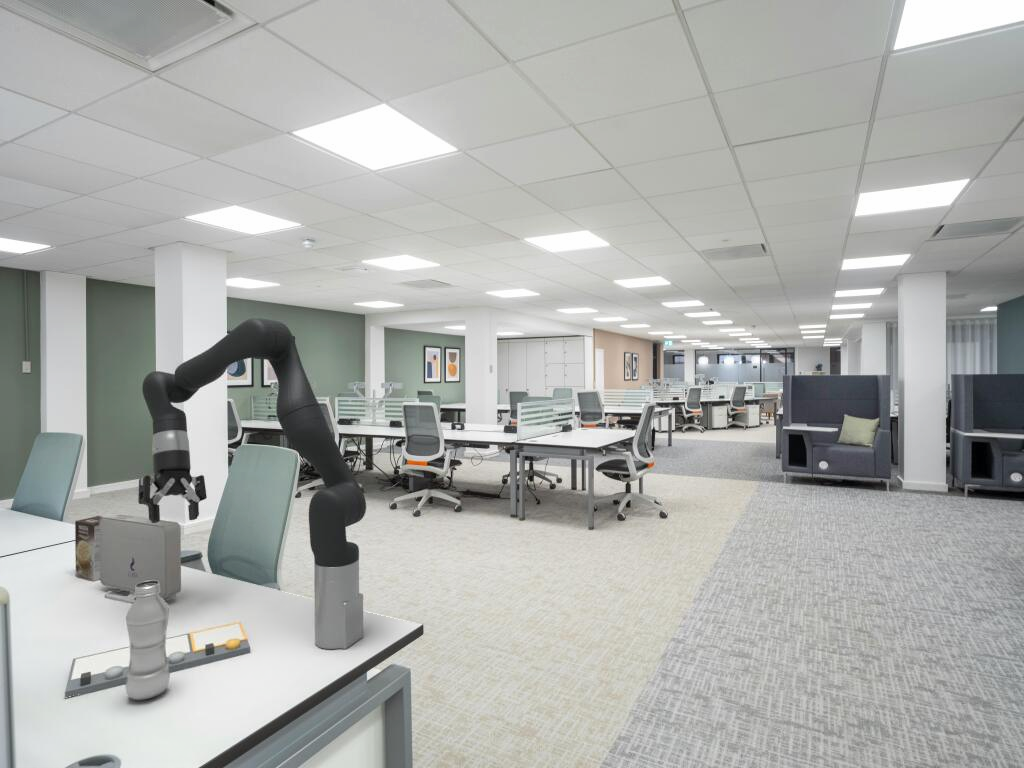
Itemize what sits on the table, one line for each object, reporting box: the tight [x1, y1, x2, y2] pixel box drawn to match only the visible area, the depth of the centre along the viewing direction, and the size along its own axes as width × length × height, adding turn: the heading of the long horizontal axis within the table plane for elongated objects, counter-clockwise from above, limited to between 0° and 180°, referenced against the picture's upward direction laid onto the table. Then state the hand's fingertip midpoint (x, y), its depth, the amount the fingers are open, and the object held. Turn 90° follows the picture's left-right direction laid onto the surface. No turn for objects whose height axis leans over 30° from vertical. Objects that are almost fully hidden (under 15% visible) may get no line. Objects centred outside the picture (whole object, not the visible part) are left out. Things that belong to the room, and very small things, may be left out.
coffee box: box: [74, 515, 103, 582], centre depth 161 cm, size 9×6×16 cm
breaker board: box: [64, 621, 251, 698], centre depth 113 cm, size 30×14×3 cm, turn 123°
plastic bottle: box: [125, 580, 171, 701], centre depth 100 cm, size 6×7×20 cm
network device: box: [99, 513, 182, 605], centre depth 146 cm, size 26×9×20 cm, turn 68°
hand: (175, 520), depth 129 cm, fingers open, 8 cm apart
